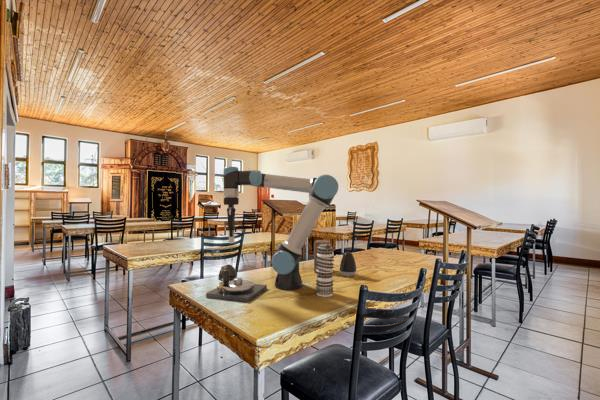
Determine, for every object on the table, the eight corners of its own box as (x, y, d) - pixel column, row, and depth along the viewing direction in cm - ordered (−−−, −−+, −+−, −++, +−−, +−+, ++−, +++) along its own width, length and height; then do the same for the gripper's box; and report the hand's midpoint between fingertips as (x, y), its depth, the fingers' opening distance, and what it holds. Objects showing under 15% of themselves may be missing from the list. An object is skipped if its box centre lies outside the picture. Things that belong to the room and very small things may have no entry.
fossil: (232, 280, 169) (224, 265, 170) (219, 287, 171) (212, 271, 172) (240, 275, 180) (233, 260, 181) (228, 281, 182) (221, 266, 183)
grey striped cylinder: (313, 272, 193) (314, 241, 193) (315, 269, 202) (315, 239, 202) (329, 273, 191) (329, 242, 191) (330, 269, 201) (330, 240, 201)
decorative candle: (329, 298, 142) (329, 246, 142) (312, 295, 146) (312, 244, 146) (336, 293, 150) (337, 243, 150) (320, 290, 154) (320, 242, 154)
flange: (248, 281, 160) (248, 264, 160) (258, 289, 146) (258, 270, 146) (213, 285, 151) (213, 267, 151) (220, 294, 137) (220, 275, 137)
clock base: (266, 288, 156) (266, 275, 156) (247, 302, 135) (247, 287, 135) (229, 284, 163) (230, 272, 163) (206, 297, 142) (206, 282, 142)
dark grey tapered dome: (344, 273, 192) (344, 249, 192) (359, 275, 186) (359, 251, 186) (336, 276, 184) (336, 251, 184) (351, 278, 177) (352, 253, 177)
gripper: (225, 197, 158) (225, 241, 158) (221, 196, 145) (222, 244, 145) (239, 197, 159) (240, 241, 159) (237, 196, 146) (237, 244, 146)
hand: (231, 242), depth 152 cm, fingers closed
